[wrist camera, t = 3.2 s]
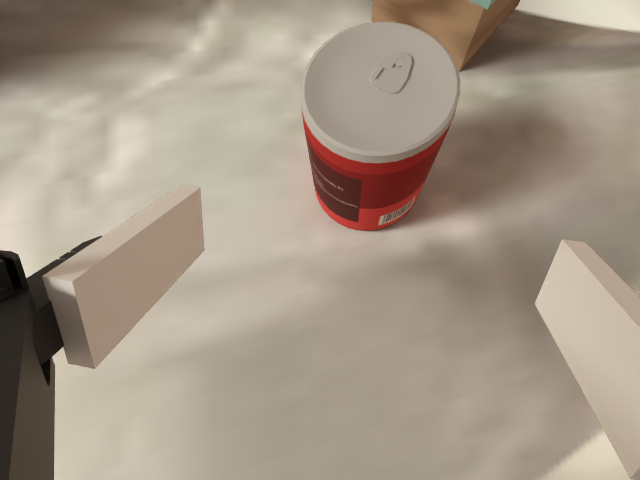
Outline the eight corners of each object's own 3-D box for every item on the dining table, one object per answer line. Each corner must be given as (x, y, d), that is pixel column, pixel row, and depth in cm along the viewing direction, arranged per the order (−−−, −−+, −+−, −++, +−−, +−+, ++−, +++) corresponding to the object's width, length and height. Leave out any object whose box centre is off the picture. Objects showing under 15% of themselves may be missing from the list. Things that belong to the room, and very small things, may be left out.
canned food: (430, 152, 29) (477, 36, 19) (402, 248, 27) (439, 176, 17) (334, 128, 30) (329, 5, 20) (301, 218, 28) (276, 133, 18)
